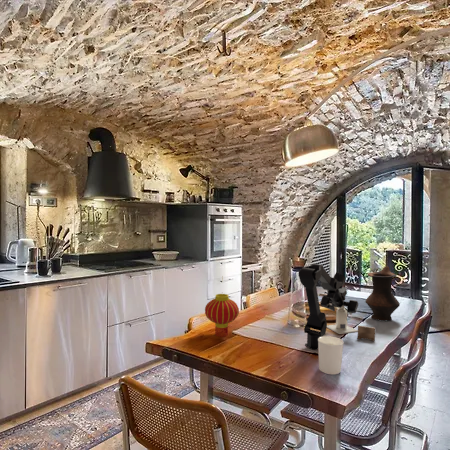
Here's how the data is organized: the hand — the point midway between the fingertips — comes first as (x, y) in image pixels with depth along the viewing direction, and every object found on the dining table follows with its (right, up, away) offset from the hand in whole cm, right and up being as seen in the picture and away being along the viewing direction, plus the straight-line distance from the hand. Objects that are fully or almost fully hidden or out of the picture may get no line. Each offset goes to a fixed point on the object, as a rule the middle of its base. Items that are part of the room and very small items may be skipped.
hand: (342, 312), depth 190 cm
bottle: (-1, -8, -1) cm, 8 cm away
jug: (+30, -9, +19) cm, 37 cm away
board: (-1, -9, -1) cm, 9 cm away
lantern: (-65, -9, -12) cm, 67 cm away
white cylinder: (-21, -11, -49) cm, 54 cm away
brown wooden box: (+7, -10, -14) cm, 18 cm away
